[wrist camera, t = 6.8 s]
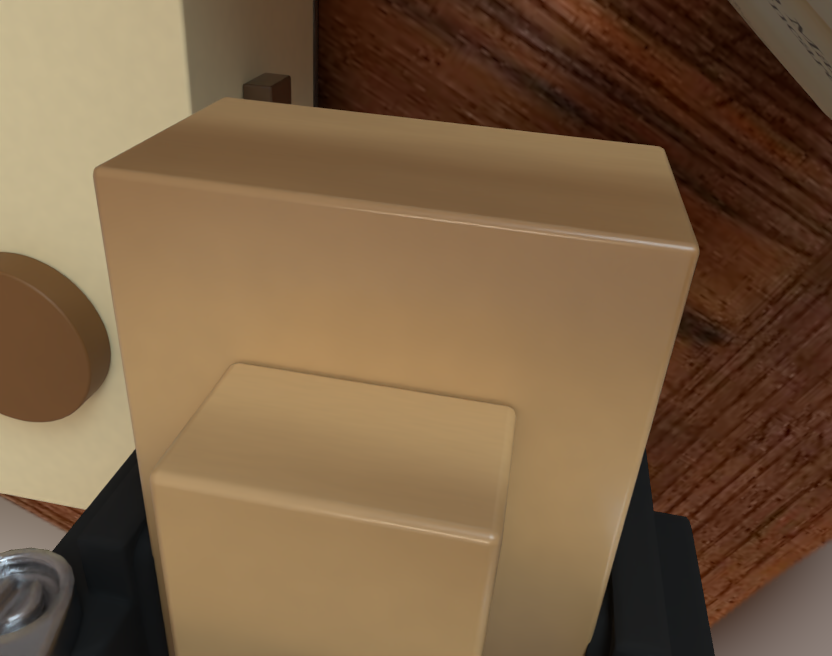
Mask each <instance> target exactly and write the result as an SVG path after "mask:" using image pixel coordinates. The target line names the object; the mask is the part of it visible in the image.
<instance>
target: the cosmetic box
mask: <svg viewBox="0 0 832 656" xmlns="http://www.w3.org/2000/svg"><path fill="white" fill-rule="evenodd" d="M728 1H729V2H730V3H731V5H732V6H733V7H734V8H735V9H736V11H737V12H738V13H739V14H740V15H741V17H742V18H743V19H744V20H745V21H746V23H747V24H748V25H749V26H750V27H751V29H752V30H753V31H754V32H755V33H756V35H757V36H758V37H759V38H760V39H761V40H762V42H763V43H764V44H765V45H766V46H767V47H768V49H769V50H770V51H771V52H772V53H773V54H774V56H775V57H776V58H777V59H778V60H779V61H780V63H781V64H782V65H783V66H784V67H785V68H786V70H787V71H788V72H789V73H790V74H791V75H792V76H793V78H794V79H795V80H796V81H797V82H798V83H799V84H800V86H801V87H802V88H803V89H804V90H805V91H806V92H807V94H808V95H809V96H810V97H811V98H812V99H813V101H814V102H815V103H816V104H817V105H818V107H819V108H820V109H821V110H822V111H823V112H824V113H825V114H826V115H827V116H828V117H829V118H830V119H832V0H728Z"/></svg>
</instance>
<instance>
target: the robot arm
mask: <svg viewBox="0 0 832 656" xmlns="http://www.w3.org/2000/svg"><path fill="white" fill-rule="evenodd" d="M0 656H169V653H168V646H167V640H166V634H165V627H164V621H163V614H162V608H161V602H160V595H159V589H158V582H157V576H156V570H155V563H154V557H153V556H152V550H151V543H150V537H149V531H148V524H147V518H146V511H145V505H144V499H143V492H142V486H141V480H140V473H139V467H138V461H137V454H136V449H135V450H134V451H133V452H132V454H131V455H130V456H129V457H128V459H127V460H126V461H125V462H124V463H123V465H122V466H121V467H120V468H119V470H118V471H117V472H116V473H115V475H114V476H113V477H112V478H111V480H110V481H109V482H108V483H107V484H106V486H105V487H104V488H103V489H102V491H101V492H100V493H99V494H98V496H97V497H96V498H95V499H94V500H93V502H92V503H91V504H90V505H89V507H88V508H87V509H86V510H85V512H84V513H83V514H82V515H81V517H80V518H79V519H78V520H77V521H76V523H75V524H74V525H73V526H72V528H71V529H70V530H69V531H68V533H67V534H66V535H65V536H64V538H63V539H62V540H61V541H60V543H59V544H58V545H57V546H56V547H55V549H54V550H53V551H49V550H44V549H36V548H26V549H15V550H9V551H6V552H3V553H0ZM585 656H715V654H714V649H713V643H712V638H711V632H710V627H709V621H708V616H707V610H706V605H705V599H704V594H703V589H702V583H701V578H700V572H699V567H698V561H697V556H696V550H695V545H694V539H693V534H692V529H691V525H690V522H689V520H688V519H687V518H686V517H684V516H678V515H672V514H667V513H661V512H655V511H653V503H652V495H651V487H650V479H649V471H648V463H647V455H646V447H645V451H644V454H643V458H642V462H641V465H640V469H639V472H638V476H637V480H636V483H635V487H634V490H633V494H632V497H631V501H630V505H629V508H628V512H627V515H626V519H625V523H624V526H623V530H622V533H621V537H620V541H619V544H618V548H617V551H616V555H615V558H614V562H613V566H612V569H611V573H610V576H609V580H608V584H607V587H606V591H605V594H604V598H603V601H602V605H601V609H600V612H599V616H598V619H597V623H596V627H595V630H594V634H593V637H592V639H591V641H590V643H588V646H587V650H586V653H585Z"/></svg>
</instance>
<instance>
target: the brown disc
mask: <svg viewBox="0 0 832 656" xmlns="http://www.w3.org/2000/svg"><path fill="white" fill-rule="evenodd" d="M110 358H111V351H110V343H109V338H108V334H107V331H106V329H105V326H104V323H103V321H102V319H101V317H100V315H99V314H98V312H97V310H96V309H95V307H94V306H93V304H92V303H91V302H90V300H89V299H88V298H87V297H86V295H85V294H84V293H83V292H82V291H81V290H80V289H79V288H78V287H77V286H76V285H75V284H74V283H73V282H72V281H70V280H69V279H68V278H67V277H66V276H64V275H63V274H61V273H60V272H59V271H57V270H56V269H54V268H52V267H51V266H49V265H47V264H45V263H43V262H41V261H39V260H36V259H34V258H31V257H28V256H25V255H21V254H16V253H9V252H0V414H2V415H5V416H8V417H11V418H14V419H18V420H22V421H28V422H51V421H56V420H59V419H63V418H65V417H67V416H69V415H71V414H72V413H74V412H75V411H77V410H78V409H79V408H80V407H81V406H82V405H83V404H84V403H85V402H86V401H87V400H88V399H89V398H90V397H91V396H92V395H93V394H94V393H95V392H96V391H97V390H98V389H99V387H100V386H101V385H102V383H103V382H104V380H105V378H106V376H107V374H108V370H109V366H110Z"/></svg>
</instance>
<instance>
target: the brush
mask: <svg viewBox="0 0 832 656" xmlns="http://www.w3.org/2000/svg"><path fill="white" fill-rule="evenodd" d="M93 181H94V187H95V194H96V200H97V206H98V213H99V219H100V225H101V232H102V238H103V244H104V251H105V257H106V264H107V270H108V276H109V283H110V289H111V295H112V302H113V308H114V314H115V321H116V327H117V333H118V340H119V346H120V353H121V359H122V365H123V372H124V378H125V384H126V391H127V397H128V403H129V410H130V416H131V422H132V429H133V435H134V442H135V448H136V454H137V461H138V467H139V473H140V480H141V486H142V492H143V499H144V505H145V511H146V518H147V524H148V531H149V537H150V543H151V550H152V556H153V557H154V563H155V570H156V576H157V582H158V589H159V595H160V602H161V608H162V614H163V621H164V627H165V634H166V640H167V646H168V653H169V656H585V653H586V650H587V646H588V643H590V641H591V639H592V637H593V634H594V630H595V627H596V623H597V619H598V616H599V612H600V609H601V605H602V601H603V598H604V594H605V591H606V587H607V584H608V580H609V576H610V573H611V569H612V566H613V562H614V558H615V555H616V551H617V548H618V544H619V541H620V537H621V533H622V530H623V526H624V523H625V519H626V515H627V512H628V508H629V505H630V501H631V497H632V494H633V490H634V487H635V483H636V480H637V476H638V472H639V469H640V465H641V462H642V458H643V454H644V451H645V447H646V444H647V440H648V437H649V433H650V429H651V426H652V422H653V419H654V415H655V411H656V408H657V404H658V401H659V397H660V393H661V390H662V386H663V383H664V379H665V376H666V372H667V368H668V365H669V361H670V358H671V354H672V350H673V347H674V343H675V340H676V336H677V333H678V329H679V325H680V322H681V318H682V315H683V311H684V307H685V304H686V300H687V297H688V293H689V289H690V286H691V282H692V279H693V275H694V272H695V268H696V264H697V261H698V257H699V254H700V251H699V245H698V243H697V240H696V237H695V234H694V231H693V229H692V226H691V223H690V220H689V217H688V215H687V212H686V209H685V206H684V204H683V201H682V198H681V195H680V192H679V190H678V187H677V184H676V181H675V178H674V176H673V173H672V170H671V167H670V164H669V162H668V159H667V156H666V153H665V150H664V149H663V148H661V147H659V146H650V145H641V144H633V143H624V142H615V141H606V140H598V139H589V138H580V137H571V136H562V135H554V134H545V133H536V132H527V131H519V130H510V129H501V128H492V127H484V126H475V125H466V124H457V123H449V122H440V121H431V120H422V119H413V118H405V117H396V116H387V115H378V114H370V113H361V112H352V111H343V110H335V109H326V108H317V107H308V106H300V105H291V104H282V103H273V102H264V101H256V100H247V99H238V98H229V97H225V98H222V99H220V100H218V101H216V102H214V103H212V104H210V105H209V106H207V107H205V108H203V109H201V110H199V111H198V112H196V113H194V114H192V115H190V116H188V117H187V118H185V119H183V120H181V121H179V122H177V123H176V124H174V125H172V126H170V127H168V128H166V129H165V130H163V131H161V132H159V133H157V134H155V135H154V136H152V137H150V138H148V139H146V140H144V141H143V142H141V143H139V144H137V145H135V146H133V147H132V148H130V149H128V150H126V151H124V152H122V153H121V154H119V155H117V156H115V157H113V158H111V159H110V160H108V161H106V162H104V163H102V164H100V165H98V166H97V167H95V169H94V171H93Z"/></svg>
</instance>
